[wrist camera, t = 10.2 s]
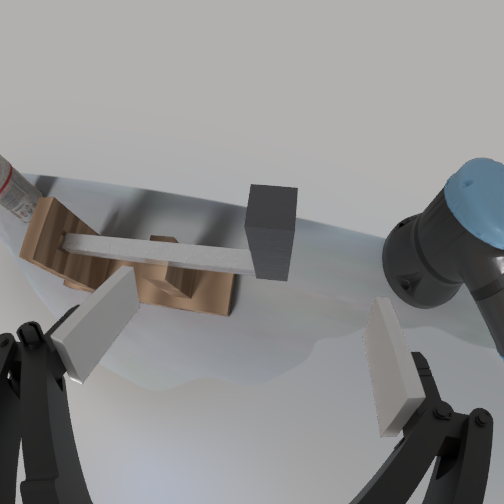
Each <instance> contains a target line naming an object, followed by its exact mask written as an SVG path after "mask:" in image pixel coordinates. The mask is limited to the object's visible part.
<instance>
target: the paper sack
mask: <svg viewBox="0 0 504 504" xmlns="http://www.w3.org/2000/svg"><path fill="white" fill-rule="evenodd" d="M40 197H43V195H42V193H41V191H38V190H37V189H36V188H35V187H34V186H33V185H32V184H31V183H29V182H28V181H27V180H26V179H25V178H24V177H23V176H22V175H21V174H20V173H19V172H18V171H17V170H15V169H14V168H13V167H12V166H11V164H10V163H9V162H8V161H7V160H6V159H4V158H3V157H2V156H1V155H0V204H1V205H2V206H3V207H5V208H6V209H7V210H9V211H10V212H12V213H13V214H14V215H15V216H17V217H18V218H20V219H21V220H22V221H23V222H25V223H26V222H29V221H31V218H32V216H33V213H34V210H35V208H36V205H37V203H38V200H39V198H40Z"/></svg>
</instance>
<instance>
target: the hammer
mask: <svg viewBox="0 0 504 504" xmlns="http://www.w3.org/2000/svg"><path fill="white" fill-rule="evenodd" d="M297 189H298V188H291V187H281V186H268V185H253V184H251V187H250V194H249V200H248V206H247V213H246V219H245V231H246V235H247V239H248V244H249V248H250V250H244V249H234V248H223V247H212V246H202V245H191V244H181V243H170V242H159V241H149V240H138V239H127V238H116V237H106V236H95V235H84V234H73V233H66V235H65V238H64V241H63V244H62V248H63V249H65V250H66V251H68V252H69V253H74V254H81V255H88V256H95V257H102V258H110V259H117V260H125V261H132V262H140V263H148V264H156V265H164V266H172V267H180V268H189V269H197V270H206V271H215V272H224V273H233V274H242V275H252V276H256V278H259V279H268V280H278V281H287V278H288V272H289V266H290V259H291V253H292V246H293V239H294V232H295V221H296V205H297V191H298V190H297Z"/></svg>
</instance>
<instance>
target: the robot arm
mask: <svg viewBox="0 0 504 504" xmlns="http://www.w3.org/2000/svg"><path fill="white" fill-rule="evenodd" d="M382 261H383V268H384V273H385V276H386V278H387V281H388V283H389V285H390V286H391V288H392V289H393V291H394V292H395V293H396V294H397V296H398V297H399V298H401V299H402V300H403V301H404V302H406V303H407V304H409V305H411V306H414V307H417V308H422V309H429V308H434V307H437V306H439V305H442V304H444V303H446V302H447V301H449V300H450V299H451V298H452V297H453V296H454V295H455V294H456V293H457V291H458V290H459V288H460V287H461V285H462V284H463V283H465V284H466V286H467V288H468V289H469V291H470V293H471V295H472V297H473V299H474V301H475V303H476V304H477V306H478V308H479V310H480V312H481V314H482V316H483V318H484V320H485V322H486V325H487V327H488V329H489V331H490V333H491V335H492V338H493V340H494V342H495V345H496V349H497V352H498V353H499V356H500V357H501V358H502V359H503V361H504V165H503V164H502V163H500V162H496V161H494V160H492V159H488V158H475V159H472V160H470V161H468V162H466V163H465V164H464V165H463V166H462V167H461V168H460V169H459V170H458V171H457V172H456V173H455V174H453V175H452V176H451V177H450V178H449V179H448V180H447V183H446V184H445V186H444V188H443V189H442V190H441V191H440V192H439V194H438V195H437V196H436V198H435V199H434V200H433V201H432V202H431V203H430V204H429V206H428V207H427V208H426V209H425V211H424V212H423V213H420V214H418V215H414V216H411V217H408V218H406V219H404V220H403V221H401V222H400V223H398V224H397V226H395V228H394V229H393V230H392V231H391V233H390V234H389V235H388V237H387V239H386V241H385V244H384V248H383V254H382ZM139 308H140V304H139V298H138V292H137V286H136V280H135V274H134V267H129V266H123V265H122V266H121V267H120V268H119V269H118V270H117V271H116V272H115V273H114V274H113V275H112V276H110V277H109V278H108V279H107V280H106V281H105V282H104V283H103V284H102V285H101V286H100V287H99V288H98V289H97V290H96V291H95V292H93V293H92V294H91V295H90V296H89V297H88V298H87V299H86V300H85V301H84V302H83V303H82V304H81V305H76V306H75V307H73V308H71V309H69V310H68V311H67V312H66V313H65V314H64V316H62V317H61V318H60V319H59V321H57V322H56V323H55V324H54V325H53V326H52V328H50V330H49V331H47V333H46V334H45V335H44V334H43V332H42V330H41V327H40V325H39V324H38V323H37V322H34V321H32V322H27V323H24V324H23V325H21V326H20V327H19V328H18V330H17V332H16V333H17V335H18V337H19V339H20V342H16V341H15V338H14V336H13V335H12V334H11V333H3V334H1V335H0V504H15V497H16V478H17V466H18V456H19V449H20V442H21V438H22V450H23V459H24V467H25V473H26V479H25V481H22V482H21V484H20V492H21V496H22V502H23V504H93V503H92V501H91V498H90V496H89V492H88V490H87V486H86V483H85V479H84V476H83V472H82V469H81V465H80V461H79V457H78V453H77V449H76V444H75V440H74V436H73V430H72V425H71V419H70V413H69V407H68V400H67V392H66V384H65V379H64V376H63V374H64V373H65V372H66V371H67V373H68V375H69V377H70V379H71V380H74V381H76V382H78V383H81V384H83V383H84V381H85V380H86V379H87V377H88V376H89V375H90V373H91V372H92V370H93V369H94V368H95V366H96V365H97V364H98V362H99V361H100V359H101V358H102V357H103V355H104V354H105V353H106V351H107V350H108V349H109V347H110V346H111V345H112V343H113V342H114V341H115V339H116V338H117V337H118V335H119V334H120V333H121V331H122V330H123V329H124V327H125V326H126V325H127V324H128V322H129V321H130V320H131V318H132V317H133V316H134V315H135V313H136V312H137V311H138V309H139ZM362 338H363V342H364V346H365V352H366V356H367V361H368V366H369V371H370V377H371V382H372V387H373V393H374V399H375V405H376V411H377V418H378V424H379V431H380V437H394V436H397V435H398V434H399V433H400V431H401V430H402V429H403V435H404V437H403V438H402V439H401V441H400V442H399V443H398V444H397V445H396V446H395V448H394V451H393V452H392V453H391V455H390V456H389V457H388V459H387V460H386V461H385V463H384V464H383V465H382V466H381V468H380V469H379V470H378V472H377V473H376V474H375V475H374V476H373V478H372V479H371V480H370V481H369V482H368V483H367V485H366V486H365V487H364V488H363V489H362V490H361V492H360V493H359V494H358V495H357V496H356V497H355V498H354V499H353V500H352V501H351V503H350V504H406V502H407V501H408V499H409V498H410V497H411V495H412V493H413V492H414V491H415V489H416V488H417V486H418V484H419V483H420V481H421V480H422V478H423V477H424V475H425V473H426V472H427V470H428V468H429V467H430V465H431V463H432V461H433V460H434V458H435V456H437V459H436V462H435V466H434V469H433V473H432V476H431V479H430V483H429V486H428V489H427V492H426V495H425V498H424V500H423V503H422V504H483V499H484V495H485V489H486V485H487V479H488V472H489V466H490V457H491V448H492V436H493V418H492V416H491V414H490V413H489V412H488V411H487V410H485V409H483V408H476V409H474V410H473V411H472V412H471V413H470V414H469V415H465V414H460V413H456V412H454V411H453V409H452V407H451V406H450V405H449V404H448V403H446V402H444V401H442V400H441V398H440V395H439V392H438V389H437V386H436V384H435V381H434V378H433V376H432V373H431V370H429V365H428V362H427V360H426V359H425V357H424V356H423V355H422V354H421V353H420V352H410V349H409V346H408V344H407V341H406V339H405V336H404V333H403V331H402V328H401V326H400V323H399V321H398V318H397V316H396V313H395V311H394V309H393V306H392V304H391V302H390V299H389V298H386V297H375V300H374V304H373V307H372V310H371V313H370V316H369V319H368V322H367V325H366V328H365V332H364V334H363V337H362ZM8 372H9V374H10V377H9V379H8V378H7V377H8Z"/></svg>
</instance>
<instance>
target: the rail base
mask: <svg viewBox="0 0 504 504" xmlns="http://www.w3.org/2000/svg"><path fill="white" fill-rule="evenodd" d="M66 233H73V234H84V235H95V236H100V235H99V234H98V233H96V232H95V231H94V230H93V229H91V228H90V227H89V226H88V225H86V224H85V223H84V222H83V221H82V220H80V219H79V218H78V217H77V216H76V215H74V214H73V213H72V212H71V211H70V210H68V209H67V208H66V207H65V206H64V205H63V204H61V203H60V202H59V201H58V200H57V199H56V198H54V197H40V198H39V200H38V203H37V205H36V208H35V210H34V213H33V216H32V218H31V221H30V224H29V227H28V230H27V233H26V236H25V239H24V242H23V245H22V248H21V251H20V255H19V257H21V258H23V259H25V260H26V261H28V262H30V263H32V264H34V265H36V266H38V267H40V268H42V269H44V270H46V271H48V272H50V273H52V274H54V275H56V276H58V277H60V278H63V279H65V280H64V284H63V285H65V286H67V287H69V288H73V289H78V290H82V291H87V292H91V293H93V292H95V291H96V290H97V289H98V288H99V287H100V286H101V285H102V284H103V283H104V282H105V281H106V280H107V279H108V278H109V277H110V276H112V275H113V274H114V273H115V272H116V271H117V270H118V269H119V268H120V267H121V266H122V265H123V266H129V267H134V274H135V280H136V286H137V292H138V298H139V302H141V303H146V304H152V305H157V306H163V307H169V308H175V309H181V310H188V311H194V312H201V313H208V314H215V315H222V316H229V315H230V308H231V301H232V295H233V288H234V281H235V274H233V273H224V272H215V271H206V270H197V269H189V268H180V267H172V266H164V265H156V264H148V263H140V262H132V261H125V260H117V259H110V258H102V257H95V256H88V255H81V254H74V253H69V252H68V251H66V250H65V249H63V248H62V244H63V241H64V238H65V235H66ZM150 241H159V242H170V243H178V242H177V240H176V239H175V238H174V237H165V236H153V235H151V237H150ZM75 284H76V285H75Z"/></svg>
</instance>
